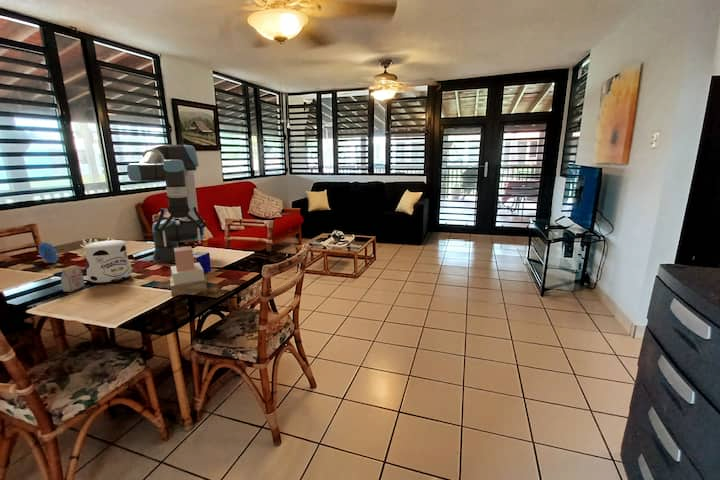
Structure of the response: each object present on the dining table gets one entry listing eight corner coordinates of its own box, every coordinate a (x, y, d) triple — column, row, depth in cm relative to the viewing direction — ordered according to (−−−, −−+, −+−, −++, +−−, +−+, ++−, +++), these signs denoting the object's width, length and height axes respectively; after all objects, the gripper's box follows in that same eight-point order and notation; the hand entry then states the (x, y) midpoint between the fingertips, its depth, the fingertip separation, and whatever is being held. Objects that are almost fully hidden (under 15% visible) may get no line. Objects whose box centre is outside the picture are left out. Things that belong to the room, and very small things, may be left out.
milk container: (119, 286, 154) (113, 248, 150) (79, 286, 153) (72, 248, 149) (140, 273, 171) (135, 239, 167) (104, 274, 170) (98, 239, 165)
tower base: (171, 286, 156) (169, 276, 155) (203, 281, 163) (202, 271, 162) (171, 297, 144) (170, 286, 143) (207, 291, 151) (206, 280, 150)
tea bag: (63, 291, 148) (58, 269, 145) (77, 285, 154) (73, 265, 152) (70, 291, 147) (66, 270, 145) (84, 286, 154) (80, 265, 151)
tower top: (171, 276, 154) (170, 266, 153) (200, 272, 161) (199, 262, 159) (174, 285, 144) (172, 274, 143) (204, 279, 151) (203, 269, 150)
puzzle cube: (199, 276, 168) (197, 257, 166) (181, 275, 170) (179, 256, 167) (211, 270, 177) (209, 252, 175) (194, 269, 179) (192, 251, 177)
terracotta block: (176, 267, 152) (173, 248, 150) (193, 264, 156) (191, 246, 154) (176, 271, 147) (174, 251, 144) (194, 269, 150) (192, 249, 148)
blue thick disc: (33, 264, 183) (28, 243, 180) (46, 261, 189) (42, 240, 186) (50, 266, 181) (45, 244, 178) (63, 262, 187) (59, 241, 184)
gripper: (142, 198, 134) (149, 249, 140) (209, 196, 146) (214, 243, 152) (143, 196, 141) (150, 245, 146) (208, 194, 153) (212, 239, 158)
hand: (183, 244), depth 149 cm, fingers open, 13 cm apart
